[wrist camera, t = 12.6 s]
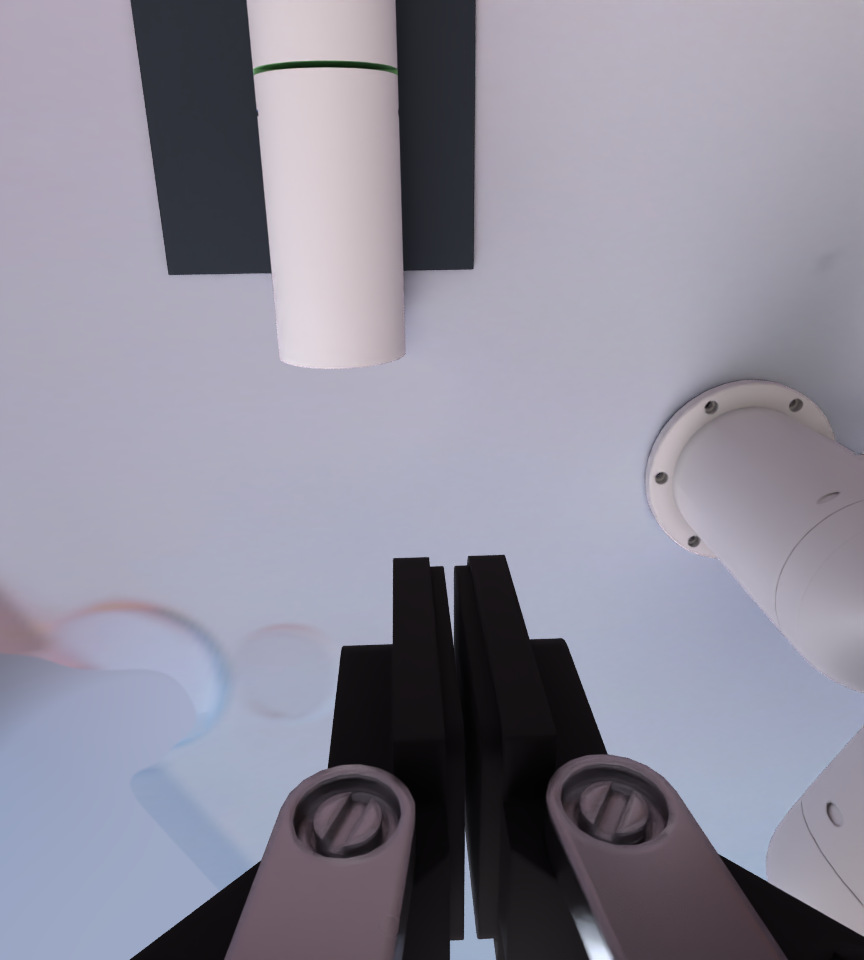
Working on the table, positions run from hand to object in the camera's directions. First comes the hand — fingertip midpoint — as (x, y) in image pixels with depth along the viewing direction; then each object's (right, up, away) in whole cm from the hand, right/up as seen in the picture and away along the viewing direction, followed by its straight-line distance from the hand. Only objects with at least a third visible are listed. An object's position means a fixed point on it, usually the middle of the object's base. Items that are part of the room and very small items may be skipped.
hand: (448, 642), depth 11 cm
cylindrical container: (-6, +33, +22) cm, 40 cm away
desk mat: (-7, +24, +30) cm, 39 cm away
